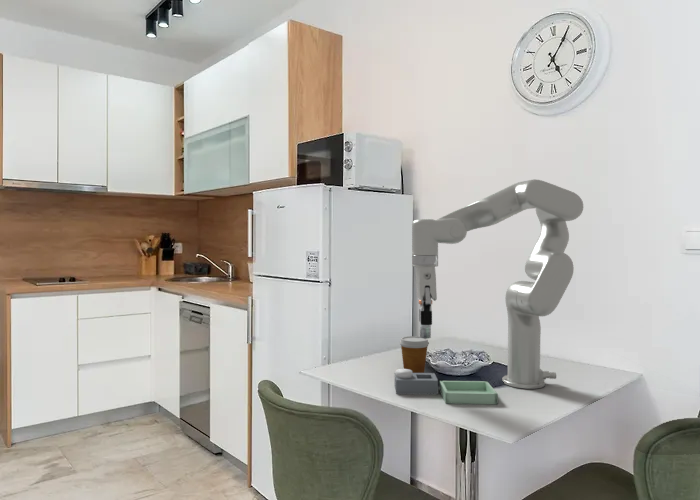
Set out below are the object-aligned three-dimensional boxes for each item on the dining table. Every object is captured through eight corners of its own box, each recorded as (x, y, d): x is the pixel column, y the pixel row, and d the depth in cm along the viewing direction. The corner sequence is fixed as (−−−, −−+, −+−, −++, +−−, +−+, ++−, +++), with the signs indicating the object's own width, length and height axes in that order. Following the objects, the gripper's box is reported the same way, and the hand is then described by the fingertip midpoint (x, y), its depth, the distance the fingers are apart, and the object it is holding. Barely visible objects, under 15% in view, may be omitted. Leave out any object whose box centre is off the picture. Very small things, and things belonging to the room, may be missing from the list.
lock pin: (431, 336, 153) (431, 299, 153) (433, 338, 149) (433, 301, 149) (417, 335, 153) (418, 299, 153) (419, 338, 149) (419, 301, 149)
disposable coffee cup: (428, 380, 162) (428, 342, 162) (397, 378, 164) (398, 341, 164) (429, 372, 171) (429, 336, 171) (401, 370, 173) (401, 335, 173)
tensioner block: (434, 386, 155) (434, 367, 155) (437, 394, 147) (438, 375, 147) (394, 385, 156) (394, 367, 156) (396, 393, 148) (396, 374, 148)
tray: (487, 390, 151) (487, 381, 151) (497, 404, 139) (497, 393, 139) (439, 390, 151) (439, 380, 151) (445, 403, 139) (445, 393, 139)
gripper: (442, 262, 142) (442, 328, 143) (434, 259, 159) (434, 318, 159) (415, 263, 142) (415, 328, 143) (410, 260, 159) (410, 319, 159)
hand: (425, 322), depth 151 cm, fingers closed on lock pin, 3 cm apart
